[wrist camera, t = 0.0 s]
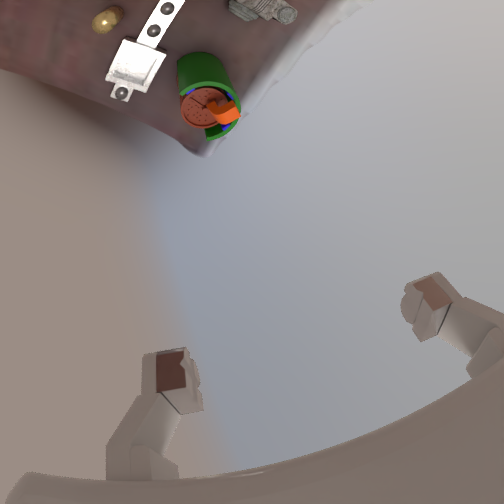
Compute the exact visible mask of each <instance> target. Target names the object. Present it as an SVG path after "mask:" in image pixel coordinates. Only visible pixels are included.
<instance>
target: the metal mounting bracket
mask: <svg viewBox="0 0 504 504" xmlns="http://www.w3.org/2000/svg"><path fill="white" fill-rule="evenodd" d="M184 1H185V0H160V2H159V3H158V5H157V7H156V8H155V10H154V12H153V13H152V15H151V16H150V18H149V20H148V22H147V23H146V25H145V27H144V28H143V30H142V32H141V34H140V36H139V37H138V39H134V38H131V37H128V36H126V37H125V39H124V40H123V42H122V44H121V46H120V48H119V50H118V52H117V54H116V56H115V59H114V61H113V63H112V65H111V67H110V69H109V72H108V74H107V76H106V79H105V80H108V81H111V82H114V83H116V84H115V86H114V88H113V91H112V93H111V96H110V97H113V98H116V99H119V100H123V101H126V102H128V100H129V98H130V96H131V94H132V91H133V89H136V90H139V91H142V92H145V93H146V91H147V89H148V87H149V85H150V83H151V81H152V79H153V77H154V76H155V74H156V72H157V70H158V68H159V67H160V65H161V63H162V61H163V60H164V58H165V56H166V50H164V49H161V48H159V47H156V46H157V44H158V42H159V41H160V39H161V37H162V36H163V34H164V32H165V31H166V29H167V27H168V26H169V24H170V23H171V21H172V19H173V18H174V16H175V15H176V13H177V12H178V10H179V9H180V7H181V6H182V4H183V3H184Z"/></svg>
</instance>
